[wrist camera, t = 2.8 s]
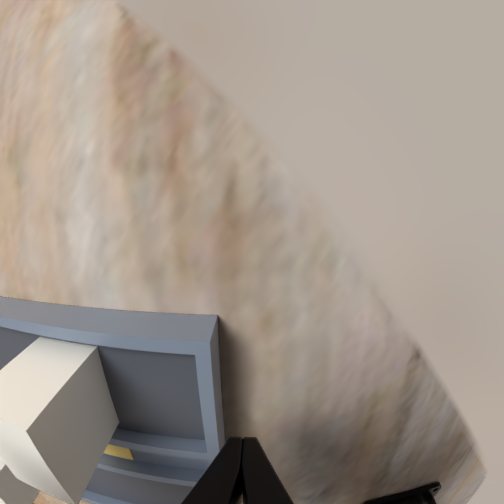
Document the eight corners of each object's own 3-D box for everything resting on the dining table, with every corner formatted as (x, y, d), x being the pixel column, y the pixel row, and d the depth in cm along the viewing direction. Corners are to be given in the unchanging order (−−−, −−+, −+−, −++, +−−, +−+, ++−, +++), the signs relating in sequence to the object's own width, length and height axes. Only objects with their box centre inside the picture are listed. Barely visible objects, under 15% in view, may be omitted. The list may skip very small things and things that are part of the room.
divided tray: (217, 315, 11) (210, 342, 9) (231, 505, 14) (229, 529, 12) (-66, 284, 11) (-85, 293, 9) (-2, 440, 14) (-13, 453, 12)
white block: (26, 436, 12) (-11, 485, 7) (50, 473, 13) (22, 520, 8) (-3, 422, 12) (-39, 464, 7) (21, 460, 13) (-8, 501, 8)
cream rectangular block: (97, 346, 10) (25, 430, 5) (119, 422, 11) (77, 506, 6) (40, 336, 10) (-33, 400, 5) (65, 408, 11) (16, 478, 6)
